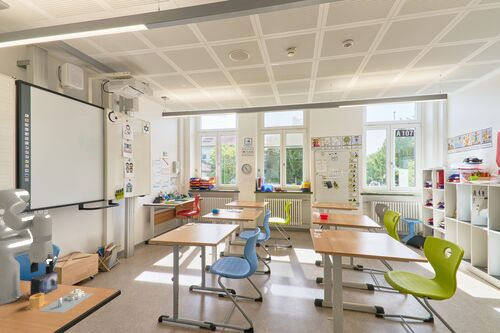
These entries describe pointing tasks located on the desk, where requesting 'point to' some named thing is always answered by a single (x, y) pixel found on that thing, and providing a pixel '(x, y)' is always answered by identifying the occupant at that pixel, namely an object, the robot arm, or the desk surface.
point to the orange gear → (36, 301)
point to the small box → (44, 283)
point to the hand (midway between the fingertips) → (41, 272)
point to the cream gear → (75, 295)
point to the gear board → (65, 303)
